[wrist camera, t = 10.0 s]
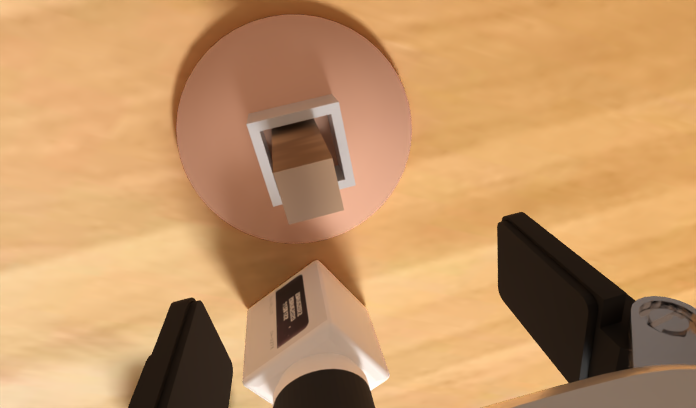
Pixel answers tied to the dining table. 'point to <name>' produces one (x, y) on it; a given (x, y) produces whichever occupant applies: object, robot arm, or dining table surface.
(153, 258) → the dining table surface
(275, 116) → the clip base
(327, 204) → the wooden square post
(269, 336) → the container
